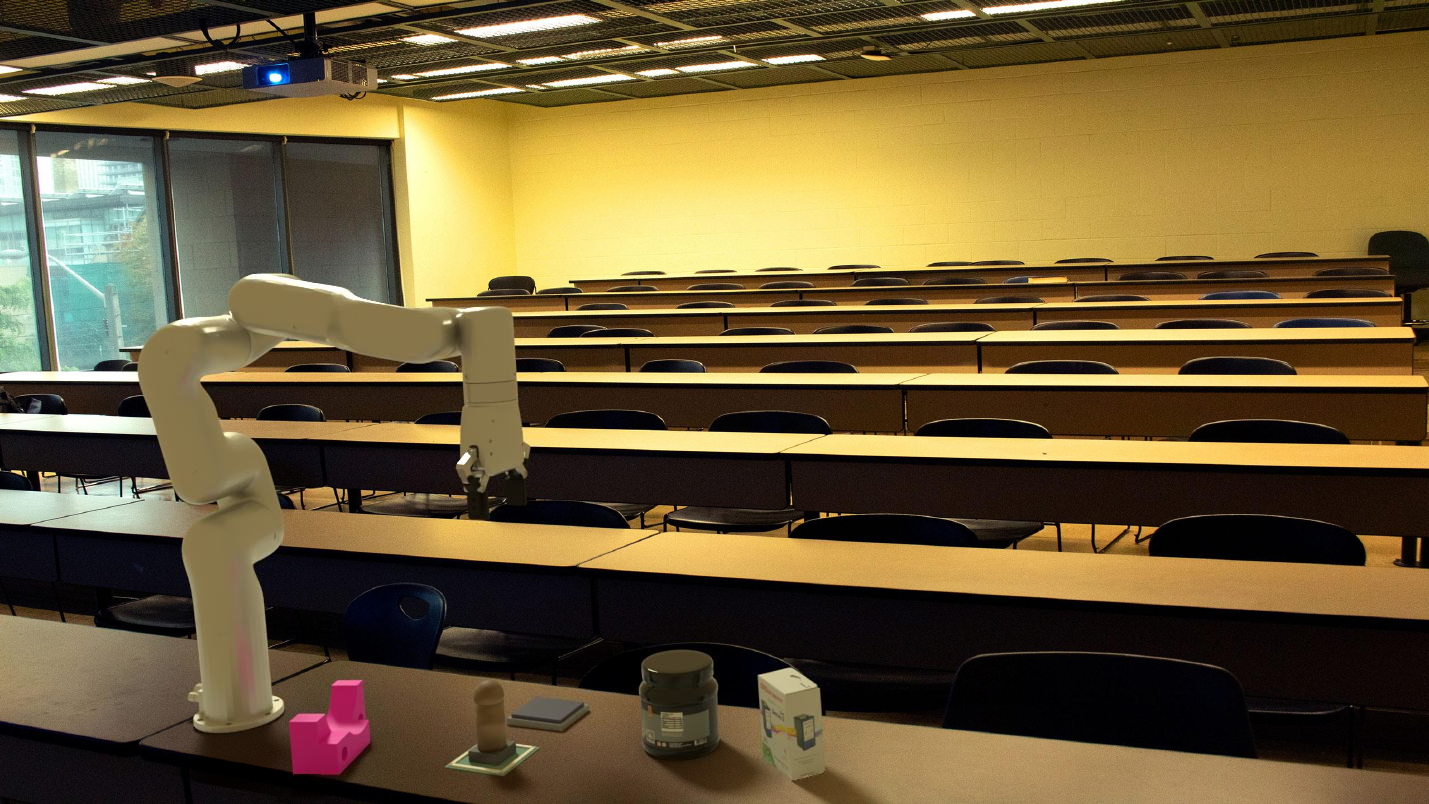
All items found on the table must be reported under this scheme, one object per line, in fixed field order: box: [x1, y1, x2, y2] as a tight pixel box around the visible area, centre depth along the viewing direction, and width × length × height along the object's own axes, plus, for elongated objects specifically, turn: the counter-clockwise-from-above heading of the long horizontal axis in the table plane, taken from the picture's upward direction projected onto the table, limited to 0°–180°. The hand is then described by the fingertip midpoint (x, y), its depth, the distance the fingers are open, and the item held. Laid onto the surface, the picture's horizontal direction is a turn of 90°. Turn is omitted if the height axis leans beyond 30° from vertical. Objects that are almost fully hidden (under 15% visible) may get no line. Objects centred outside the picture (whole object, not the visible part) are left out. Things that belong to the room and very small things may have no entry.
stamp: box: [467, 679, 517, 766], centre depth 150 cm, size 4×4×10 cm
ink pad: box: [506, 695, 590, 732], centre depth 164 cm, size 9×8×2 cm
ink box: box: [757, 667, 826, 780], centre depth 143 cm, size 9×5×12 cm, turn 23°
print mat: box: [444, 743, 541, 777], centre depth 150 cm, size 9×9×1 cm
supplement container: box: [638, 649, 720, 761], centre depth 151 cm, size 10×10×12 cm
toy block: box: [288, 679, 371, 776], centre depth 155 cm, size 15×6×8 cm, turn 175°
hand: (498, 512), depth 162 cm, fingers open, 9 cm apart
